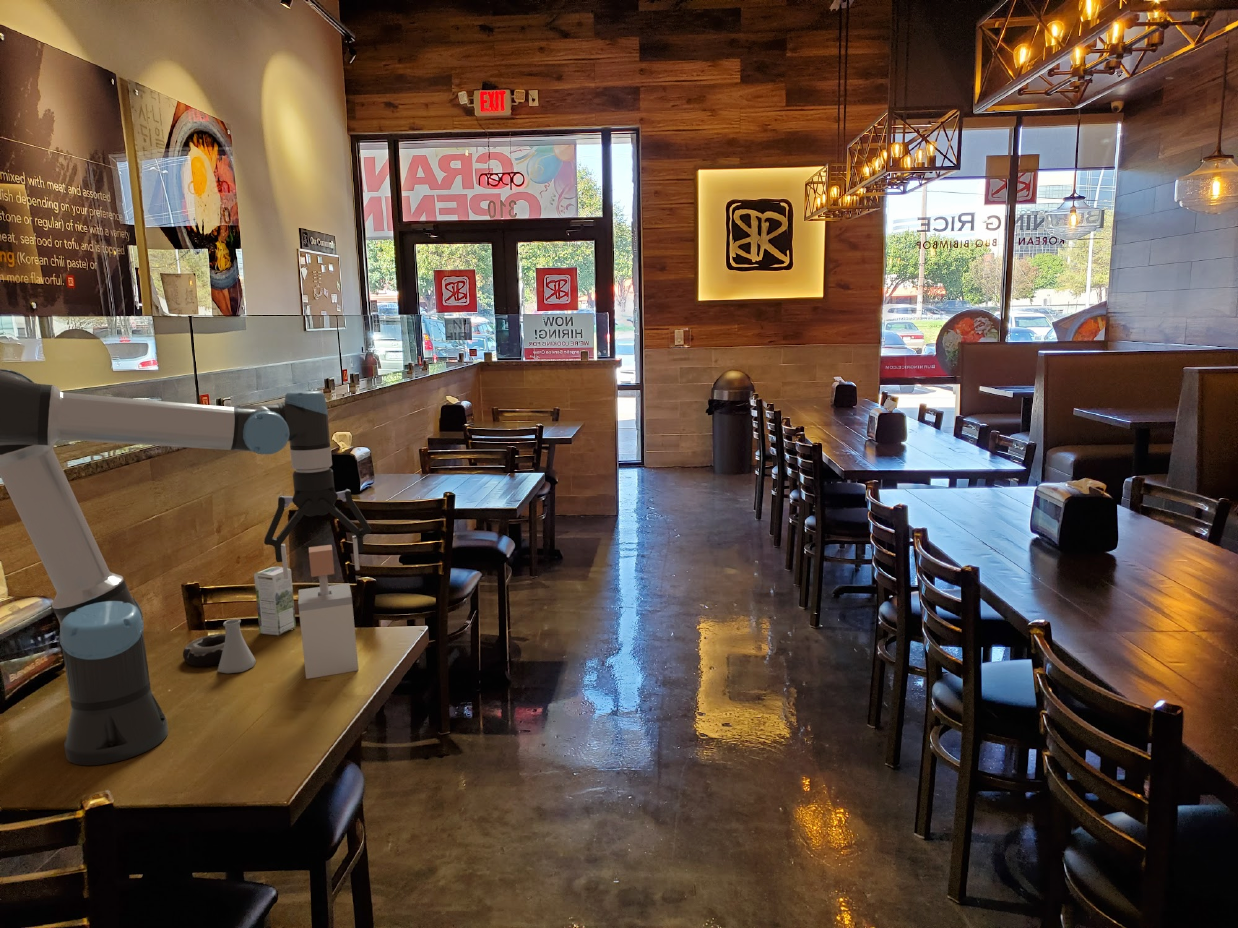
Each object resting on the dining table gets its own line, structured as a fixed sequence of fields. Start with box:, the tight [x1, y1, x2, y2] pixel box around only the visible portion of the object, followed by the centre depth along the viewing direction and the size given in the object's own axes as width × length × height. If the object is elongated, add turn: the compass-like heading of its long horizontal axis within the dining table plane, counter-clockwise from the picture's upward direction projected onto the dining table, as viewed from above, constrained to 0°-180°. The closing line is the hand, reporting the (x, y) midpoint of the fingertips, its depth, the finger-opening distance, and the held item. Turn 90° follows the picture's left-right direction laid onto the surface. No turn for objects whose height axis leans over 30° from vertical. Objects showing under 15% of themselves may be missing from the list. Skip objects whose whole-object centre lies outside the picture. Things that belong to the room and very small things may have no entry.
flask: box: [217, 618, 257, 674], centre depth 176 cm, size 7×7×10 cm
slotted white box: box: [297, 582, 359, 680], centre depth 174 cm, size 10×10×16 cm
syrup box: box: [253, 566, 297, 636], centre depth 196 cm, size 6×6×14 cm
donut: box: [182, 633, 226, 667], centre depth 182 cm, size 12×12×4 cm
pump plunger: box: [308, 544, 336, 596], centre depth 173 cm, size 4×4×20 cm
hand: (322, 572), depth 172 cm, fingers open, 13 cm apart
